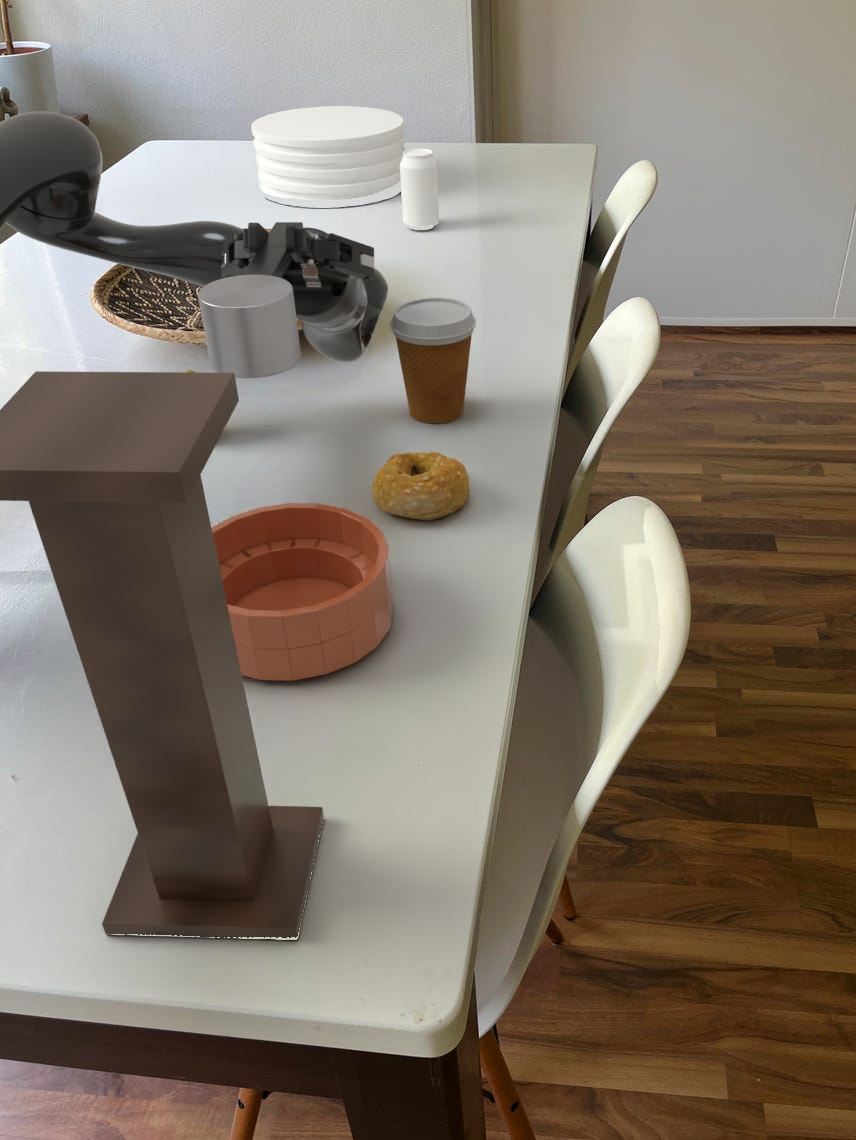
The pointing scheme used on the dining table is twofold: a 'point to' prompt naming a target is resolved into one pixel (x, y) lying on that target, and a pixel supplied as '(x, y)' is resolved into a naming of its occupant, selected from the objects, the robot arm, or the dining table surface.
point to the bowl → (303, 588)
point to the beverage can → (419, 187)
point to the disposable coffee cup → (434, 355)
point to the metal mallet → (253, 315)
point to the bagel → (421, 485)
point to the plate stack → (328, 152)
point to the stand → (159, 644)
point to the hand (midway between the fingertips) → (271, 236)
